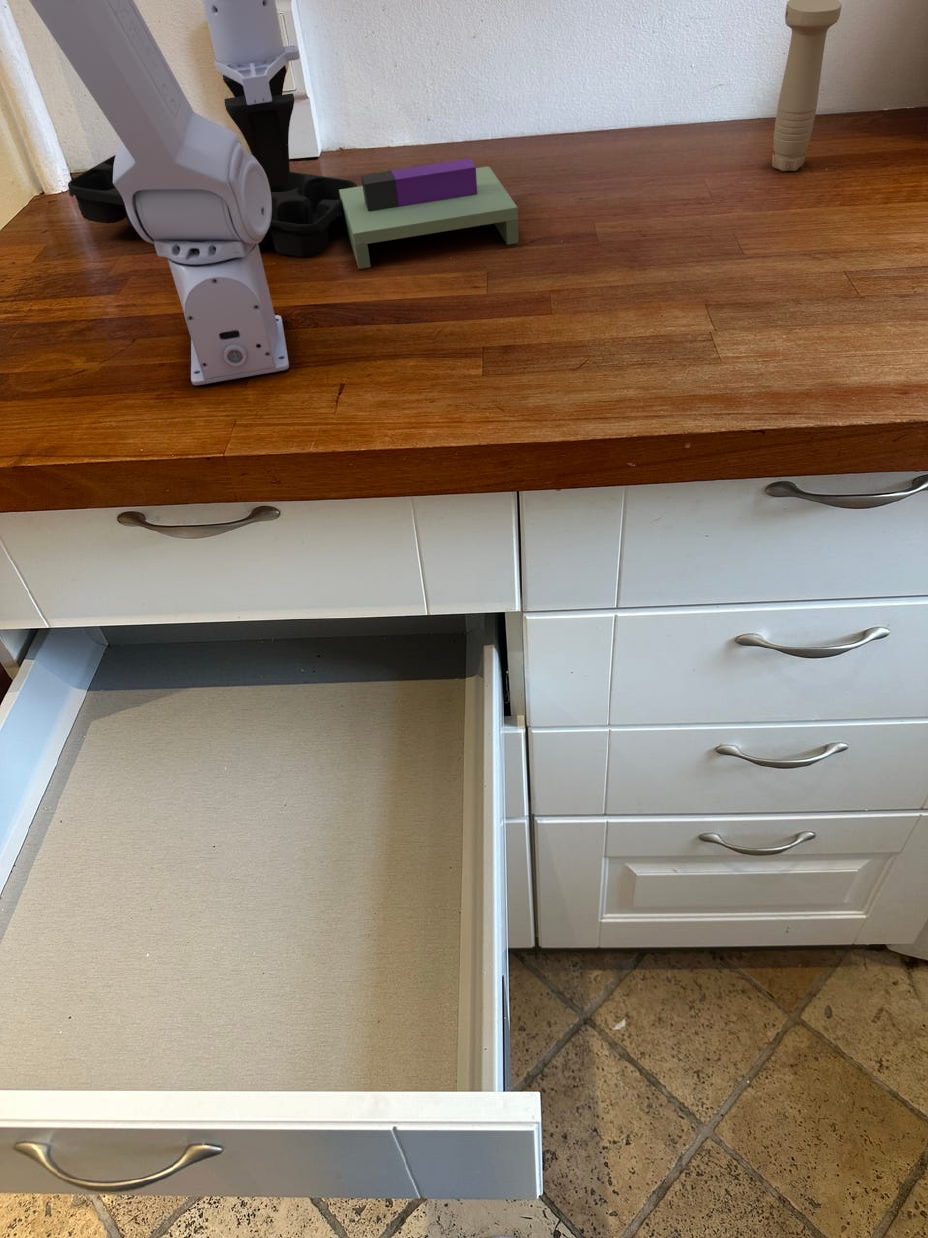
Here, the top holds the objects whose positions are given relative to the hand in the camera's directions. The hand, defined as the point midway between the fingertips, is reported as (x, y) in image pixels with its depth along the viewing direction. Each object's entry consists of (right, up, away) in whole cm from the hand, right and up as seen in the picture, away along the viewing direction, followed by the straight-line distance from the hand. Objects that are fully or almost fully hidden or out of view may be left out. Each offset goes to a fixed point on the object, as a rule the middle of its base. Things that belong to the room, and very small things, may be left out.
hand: (274, 169), depth 83 cm
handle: (+52, +8, +16) cm, 55 cm away
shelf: (+13, -1, +11) cm, 17 cm away
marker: (+13, +1, +8) cm, 15 cm away
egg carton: (-9, +2, +15) cm, 18 cm away
